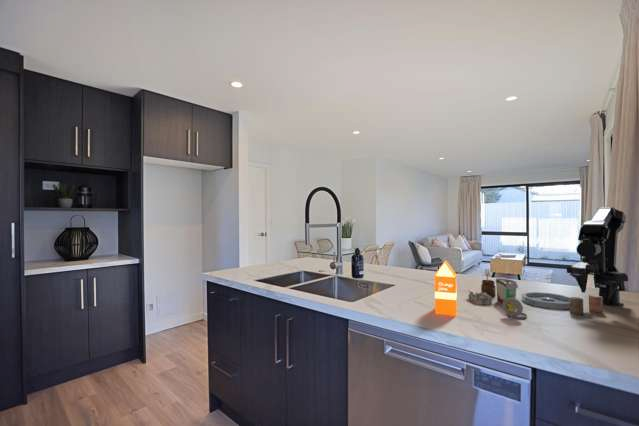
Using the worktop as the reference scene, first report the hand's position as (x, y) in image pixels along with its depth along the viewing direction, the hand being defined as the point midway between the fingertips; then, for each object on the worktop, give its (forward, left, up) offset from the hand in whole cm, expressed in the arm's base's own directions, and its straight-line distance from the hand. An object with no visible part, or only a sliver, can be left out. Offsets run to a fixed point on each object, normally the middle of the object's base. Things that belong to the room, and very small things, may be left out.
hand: (595, 295), depth 120 cm
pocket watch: (+35, -1, -7) cm, 36 cm away
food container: (+25, -15, -7) cm, 30 cm away
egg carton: (+33, -22, -7) cm, 41 cm away
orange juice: (+56, -12, -7) cm, 58 cm away
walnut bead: (+10, +1, -6) cm, 12 cm away
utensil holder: (+23, -30, -7) cm, 38 cm away
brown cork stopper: (0, 0, -6) cm, 6 cm away
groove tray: (+7, -14, -6) cm, 17 cm away
